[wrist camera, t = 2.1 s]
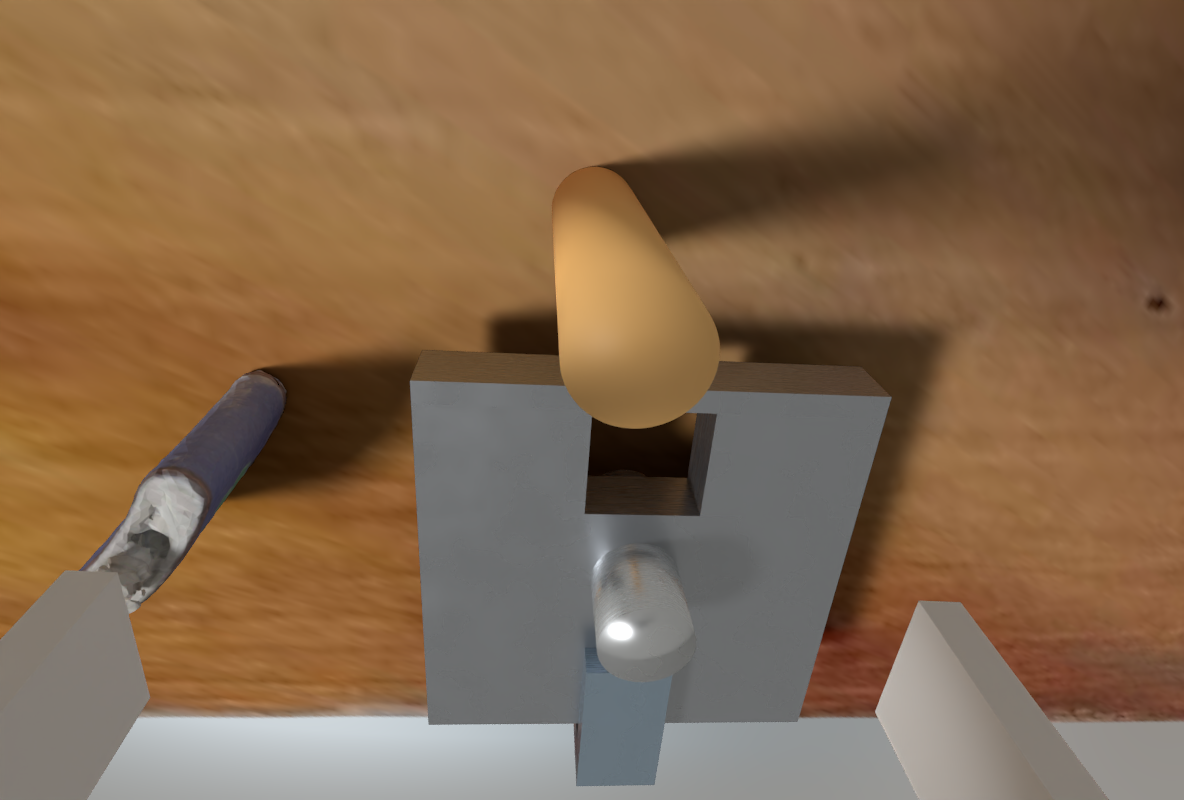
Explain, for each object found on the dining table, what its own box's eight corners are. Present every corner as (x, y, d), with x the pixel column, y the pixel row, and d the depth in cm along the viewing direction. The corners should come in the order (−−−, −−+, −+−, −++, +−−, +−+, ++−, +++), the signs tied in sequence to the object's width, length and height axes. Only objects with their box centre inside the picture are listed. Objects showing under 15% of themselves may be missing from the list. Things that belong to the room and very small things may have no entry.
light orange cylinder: (553, 164, 29) (563, 275, 15) (639, 169, 29) (731, 284, 15) (549, 249, 30) (555, 426, 16) (631, 254, 31) (708, 430, 16)
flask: (252, 358, 32) (127, 491, 22) (308, 395, 33) (212, 538, 23) (153, 486, 35) (5, 654, 25) (208, 517, 36) (85, 690, 26)
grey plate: (432, 324, 32) (388, 432, 23) (835, 341, 33) (942, 447, 24) (445, 668, 41) (418, 839, 32) (757, 668, 43) (812, 830, 34)
